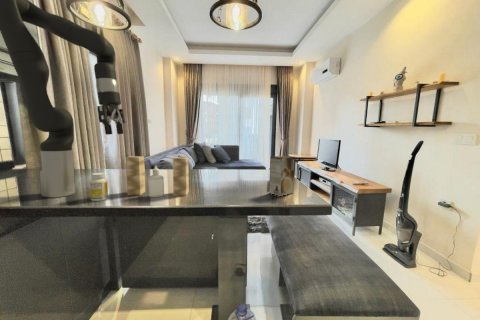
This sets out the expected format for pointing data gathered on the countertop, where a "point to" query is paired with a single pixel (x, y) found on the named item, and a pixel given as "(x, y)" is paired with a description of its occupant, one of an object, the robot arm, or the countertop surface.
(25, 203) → the countertop surface
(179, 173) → the post right
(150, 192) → the eye dropper bottle
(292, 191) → the coffee box
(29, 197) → the countertop surface
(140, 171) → the post left
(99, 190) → the supplement bottle
